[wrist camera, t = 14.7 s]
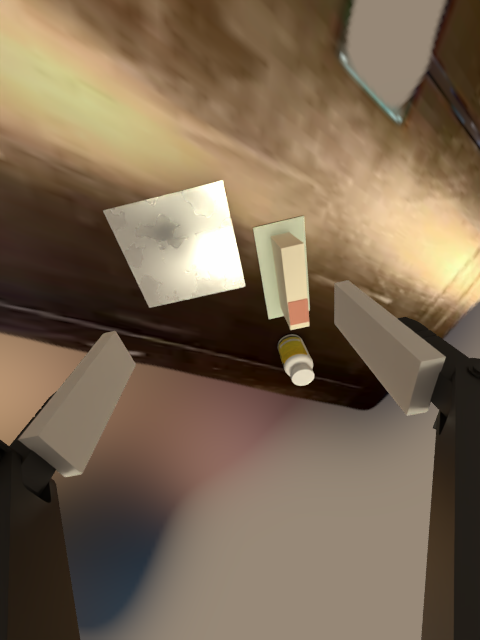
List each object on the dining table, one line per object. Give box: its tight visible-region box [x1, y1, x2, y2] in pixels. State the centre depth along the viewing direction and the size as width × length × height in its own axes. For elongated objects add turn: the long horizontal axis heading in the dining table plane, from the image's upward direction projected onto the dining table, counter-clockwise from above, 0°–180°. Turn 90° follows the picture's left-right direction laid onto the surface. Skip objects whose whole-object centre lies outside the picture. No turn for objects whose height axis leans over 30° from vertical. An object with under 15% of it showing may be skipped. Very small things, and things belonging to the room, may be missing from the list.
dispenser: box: [103, 180, 246, 308], centre depth 30 cm, size 12×12×13 cm
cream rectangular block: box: [270, 232, 309, 330], centre depth 36 cm, size 13×3×8 cm, turn 12°
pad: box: [253, 216, 310, 319], centre depth 40 cm, size 17×8×1 cm, turn 12°
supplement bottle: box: [278, 334, 314, 386], centre depth 44 cm, size 5×5×10 cm
